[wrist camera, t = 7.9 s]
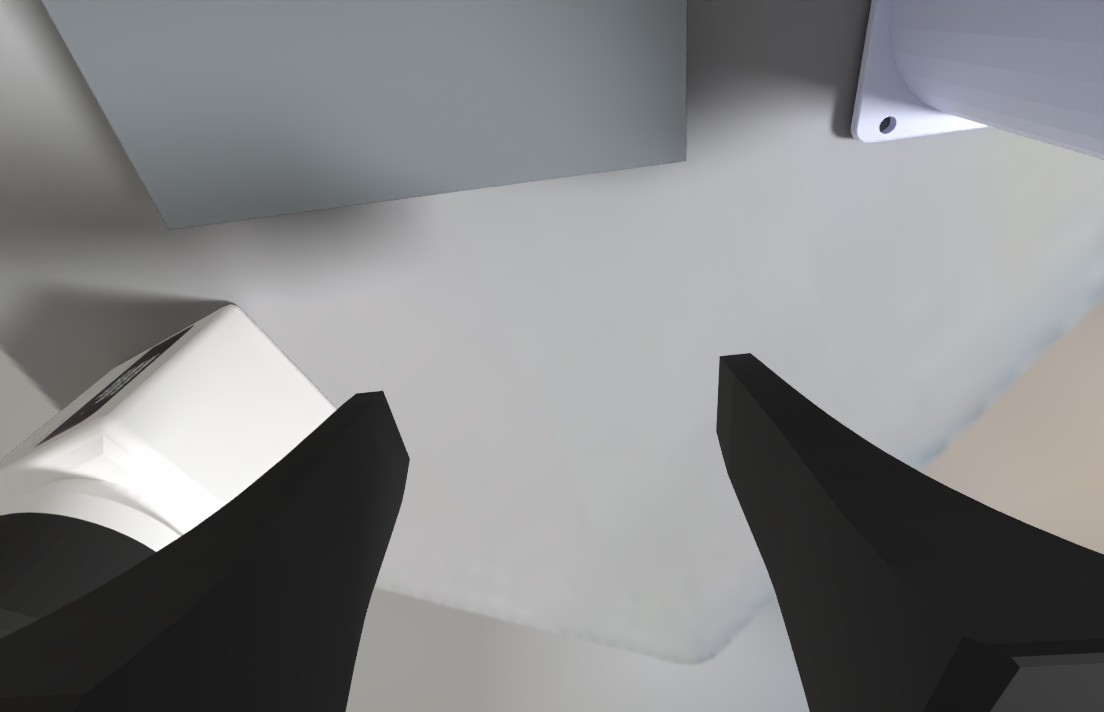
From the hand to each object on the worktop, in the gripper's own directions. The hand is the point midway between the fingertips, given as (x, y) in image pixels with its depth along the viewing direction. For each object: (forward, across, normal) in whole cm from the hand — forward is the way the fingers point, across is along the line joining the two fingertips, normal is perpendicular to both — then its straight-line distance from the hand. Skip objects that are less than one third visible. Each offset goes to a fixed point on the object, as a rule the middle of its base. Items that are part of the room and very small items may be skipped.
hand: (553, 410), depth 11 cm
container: (+11, +16, +6) cm, 20 cm away
